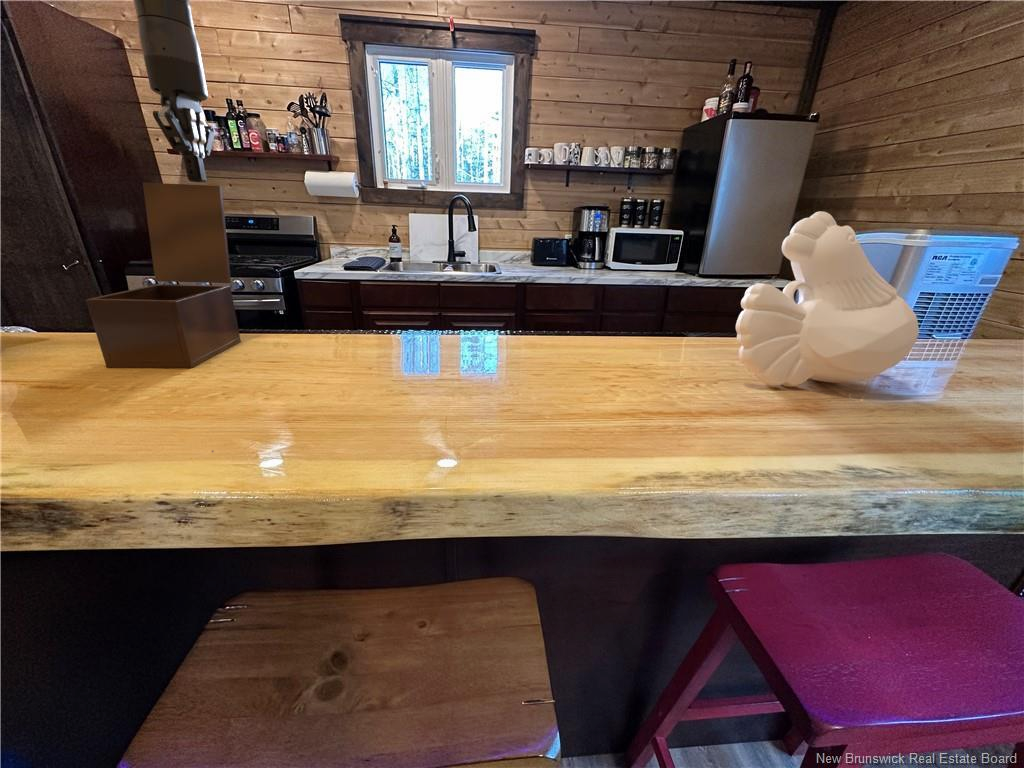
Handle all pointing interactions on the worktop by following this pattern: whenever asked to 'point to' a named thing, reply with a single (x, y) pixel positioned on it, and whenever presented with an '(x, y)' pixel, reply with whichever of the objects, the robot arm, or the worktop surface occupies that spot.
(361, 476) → the worktop surface
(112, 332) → the chest
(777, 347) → the decorative rooster
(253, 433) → the worktop surface
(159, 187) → the lid
